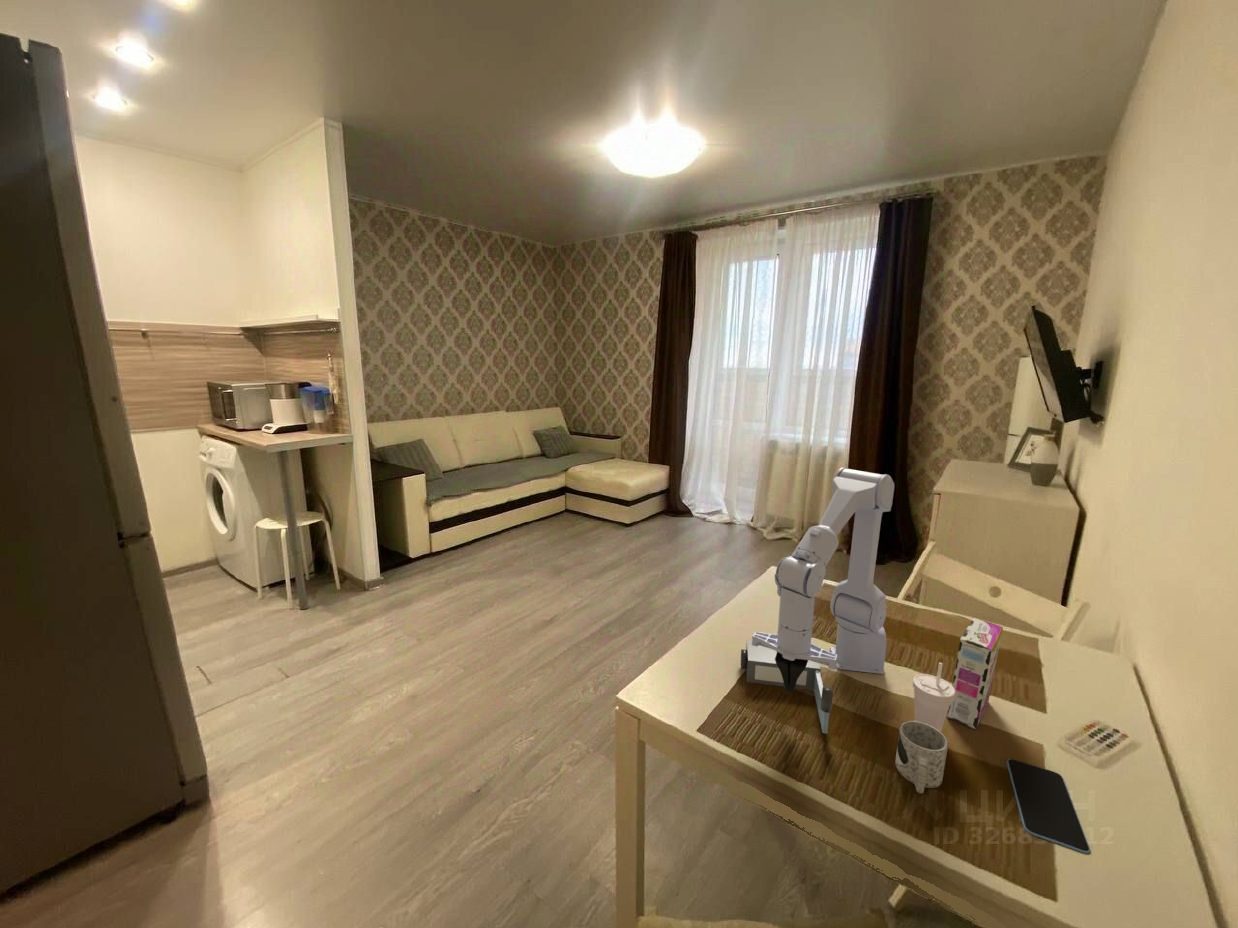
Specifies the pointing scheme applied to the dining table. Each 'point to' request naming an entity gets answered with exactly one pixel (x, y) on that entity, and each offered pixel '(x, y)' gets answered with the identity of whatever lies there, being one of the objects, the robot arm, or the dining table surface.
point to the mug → (921, 754)
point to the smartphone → (1046, 806)
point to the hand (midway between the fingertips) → (790, 689)
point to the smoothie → (932, 698)
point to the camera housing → (772, 667)
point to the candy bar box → (974, 672)
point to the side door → (823, 701)
